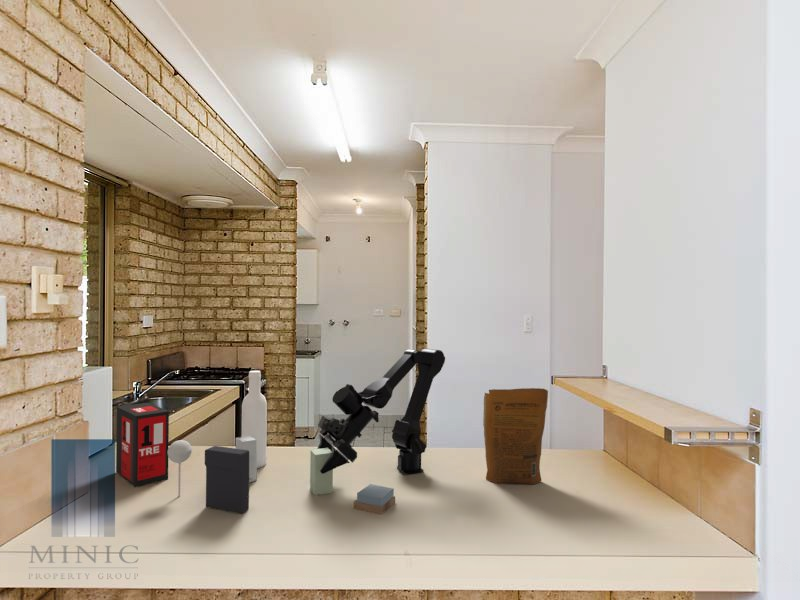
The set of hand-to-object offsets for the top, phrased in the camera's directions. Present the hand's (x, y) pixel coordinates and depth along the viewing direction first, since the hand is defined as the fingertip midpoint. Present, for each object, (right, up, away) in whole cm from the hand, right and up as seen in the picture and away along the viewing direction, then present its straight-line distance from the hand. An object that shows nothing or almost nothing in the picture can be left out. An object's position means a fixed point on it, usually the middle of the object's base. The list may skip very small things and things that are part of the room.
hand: (316, 467), depth 136 cm
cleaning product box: (-54, -6, +10) cm, 55 cm away
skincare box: (-22, -7, +8) cm, 25 cm away
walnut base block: (+17, -7, -9) cm, 20 cm away
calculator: (-21, -7, -12) cm, 25 cm away
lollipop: (-36, -6, -5) cm, 37 cm away
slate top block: (+17, -5, -9) cm, 20 cm away
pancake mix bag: (+57, -8, +9) cm, 58 cm away
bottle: (-24, -7, +21) cm, 32 cm away
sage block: (+1, -7, +1) cm, 7 cm away
